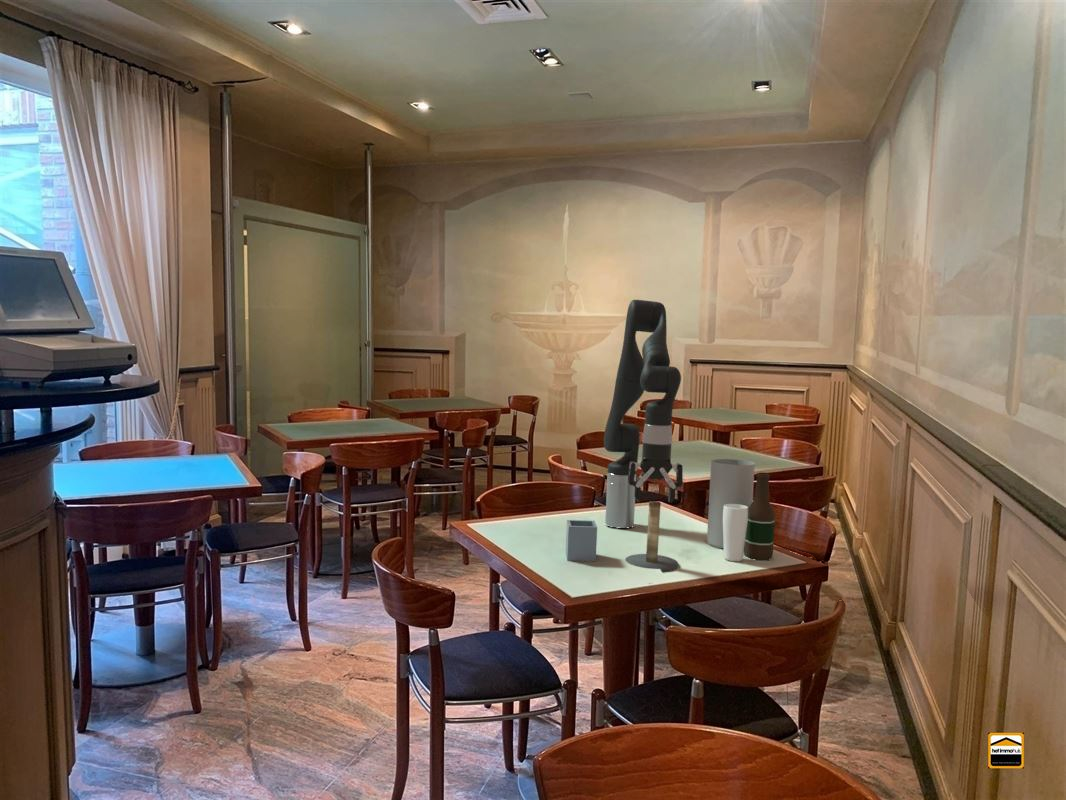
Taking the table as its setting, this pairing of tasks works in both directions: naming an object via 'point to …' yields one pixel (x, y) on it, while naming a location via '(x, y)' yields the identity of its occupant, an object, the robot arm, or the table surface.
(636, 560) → the gray disc
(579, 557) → the deep cup
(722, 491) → the cylinder vase
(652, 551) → the beech dowel
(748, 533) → the beer bottle
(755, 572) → the table surface
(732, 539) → the drinking glass
